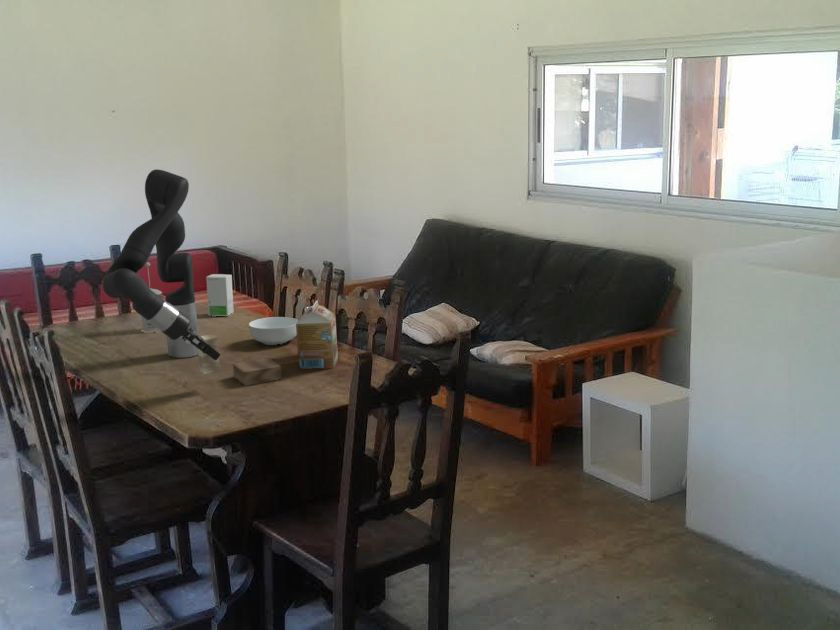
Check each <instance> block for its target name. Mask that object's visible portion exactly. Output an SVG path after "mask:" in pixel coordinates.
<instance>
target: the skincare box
mask: <svg viewBox="0 0 840 630" xmlns="http://www.w3.org/2000/svg"><path fill="white" fill-rule="evenodd" d="M232 276H233V275H232V274H224V273H218V274H217V273H215V274H214V273H213V274H210V275H207V276H206V278H205V279H206V294H207V295H206V296H207V309H208V310H207V313H208V316H209V315H212V316H211V317H216V316H228V315H230V314H231V313H233V312H234V311H235V310H234V297H233V293H234V292H233V277H232ZM234 313H235V312H234ZM234 313H233V314H234ZM214 315H216V316H214ZM230 316H231V315H230Z"/></svg>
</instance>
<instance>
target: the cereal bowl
mask: <svg viewBox="0 0 840 630" xmlns="http://www.w3.org/2000/svg"><path fill="white" fill-rule="evenodd" d="M298 320H299V319H297V318H293V317H287V316H286V317H284V316H271V317H263V318H258V319H255V320H252V321H250V322H249V323H248V332H249V334H250V336H251V337H252V339H253V340H256V341H258V342H260V343H262V344H263V345H267V346H278V345H277V344H280V345H284V344H286V343H287V342H288V341H291V340H293V339H294V338H295V337H297V332H296V323H297V322H298ZM283 343H284V344H283Z"/></svg>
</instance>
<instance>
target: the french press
mask: <svg viewBox="0 0 840 630" xmlns="http://www.w3.org/2000/svg"><path fill="white" fill-rule="evenodd" d="M150 266H151V263H150V262H148V261H147V262H146V264H145V265H144V267H150ZM149 271H150V270H149V269H147V273H148V277H150V273H149ZM148 282H149V283H148V284H149V285H148V287H149V288H150V289H151V291H153V292H154V293H156V294H157V295H158V296H160V297H161V298H162V299H165V297H166V295H163V292H162V290H159V289H157V288H151V281H150V279H148ZM141 322H142V323H141V325H142V329H143V330H145V331H155V330H158V329H157V328H156V327H154V326H153V325H152V324H151V323H150V322H149V321H148V320H147V319H145V318H144V317H143V316H141Z"/></svg>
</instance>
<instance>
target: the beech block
mask: <svg viewBox="0 0 840 630" xmlns="http://www.w3.org/2000/svg"><path fill="white" fill-rule="evenodd" d="M200 336H201V337H202V338H203V339H204V340H205V343H207V344H208V345H210V346H211V348H213V349H214V350H215V351H217V352H218V353H219V354H220V352H219V341H218V337H217V336H216V335H214V334H206V335H200ZM205 347H206V345H203V347H202V349H204V348H205ZM197 356H198V364H199V371H200V373H201V374H203V375H204V376H205V375H210V374H217V373H221V366H220V357H219V358H218V359H217V360H214V359H213V358H211V357H210V356H209V355H207V354H205V353H203V352H202V351H201V350H200V349H198V355H197Z"/></svg>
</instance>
